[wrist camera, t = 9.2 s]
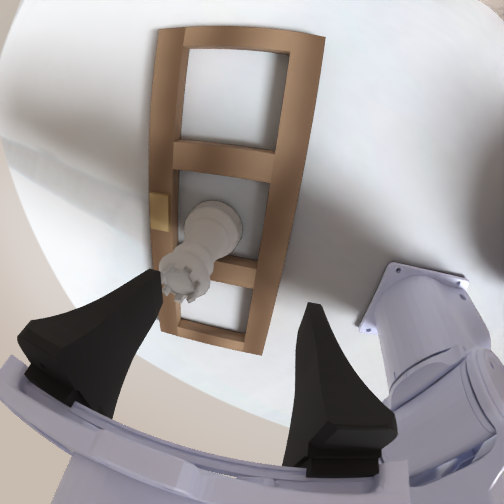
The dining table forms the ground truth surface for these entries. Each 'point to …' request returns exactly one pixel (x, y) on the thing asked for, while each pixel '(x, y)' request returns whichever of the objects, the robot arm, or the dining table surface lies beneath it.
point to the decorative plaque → (495, 6)
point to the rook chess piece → (200, 250)
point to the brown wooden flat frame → (231, 168)
